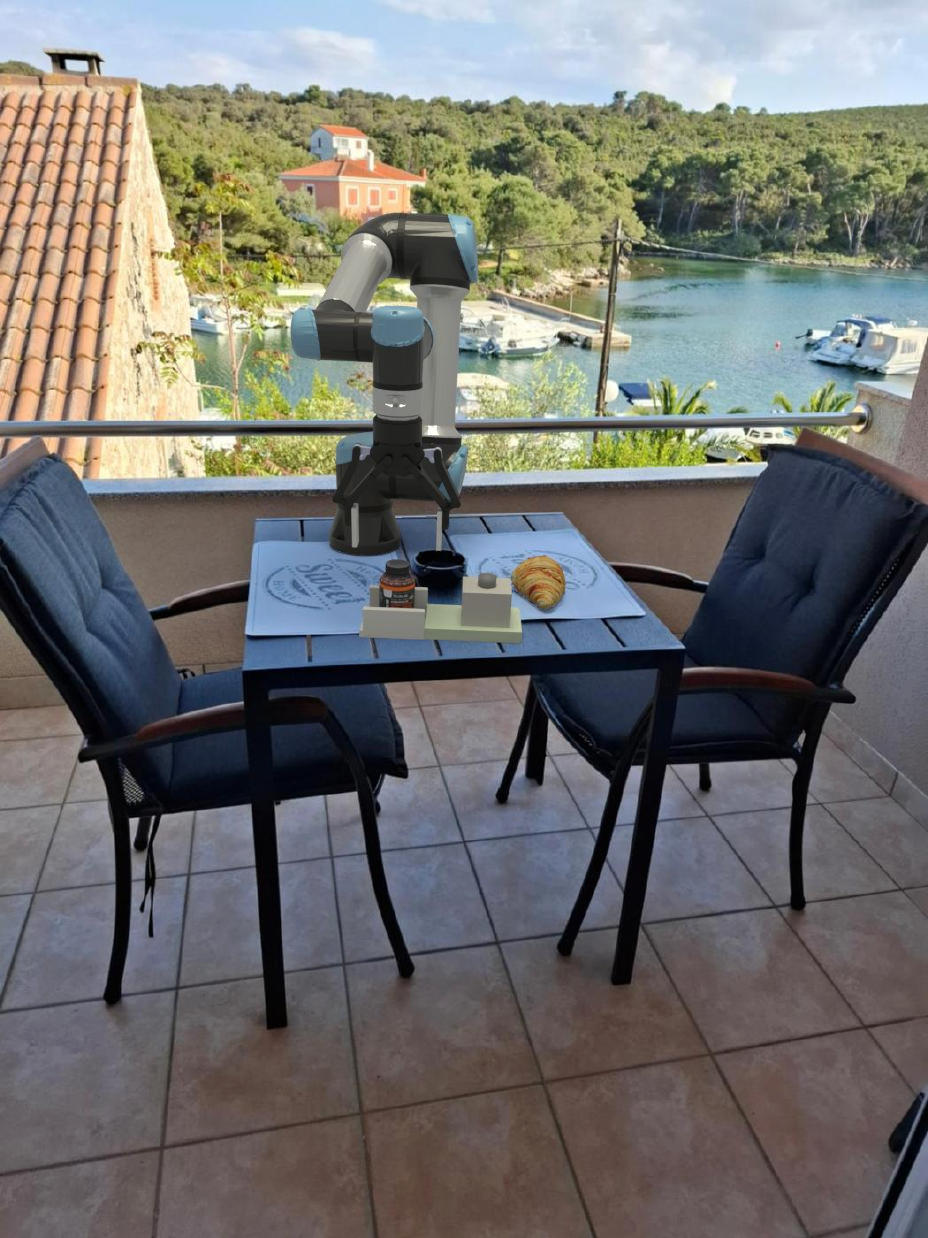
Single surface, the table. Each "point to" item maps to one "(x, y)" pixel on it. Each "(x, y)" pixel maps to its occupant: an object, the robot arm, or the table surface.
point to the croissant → (539, 581)
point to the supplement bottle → (397, 585)
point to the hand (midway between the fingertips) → (397, 546)
